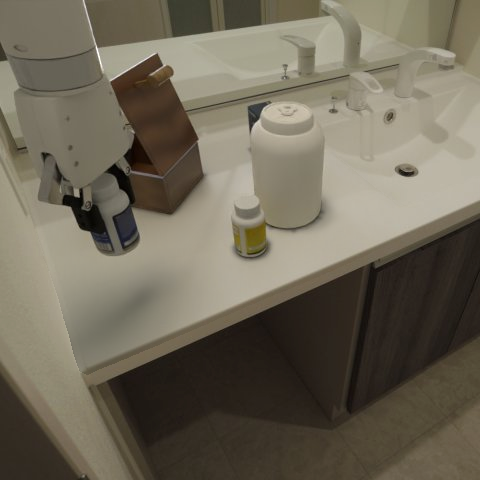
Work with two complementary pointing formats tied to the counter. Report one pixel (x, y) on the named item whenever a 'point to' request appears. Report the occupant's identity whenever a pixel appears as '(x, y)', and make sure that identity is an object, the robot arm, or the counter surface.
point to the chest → (162, 179)
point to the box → (255, 113)
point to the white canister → (288, 164)
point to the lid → (155, 112)
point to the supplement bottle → (249, 226)
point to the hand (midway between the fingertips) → (108, 214)
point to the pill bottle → (114, 217)
